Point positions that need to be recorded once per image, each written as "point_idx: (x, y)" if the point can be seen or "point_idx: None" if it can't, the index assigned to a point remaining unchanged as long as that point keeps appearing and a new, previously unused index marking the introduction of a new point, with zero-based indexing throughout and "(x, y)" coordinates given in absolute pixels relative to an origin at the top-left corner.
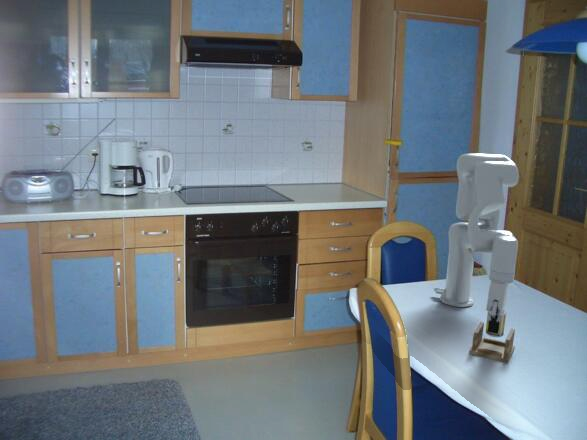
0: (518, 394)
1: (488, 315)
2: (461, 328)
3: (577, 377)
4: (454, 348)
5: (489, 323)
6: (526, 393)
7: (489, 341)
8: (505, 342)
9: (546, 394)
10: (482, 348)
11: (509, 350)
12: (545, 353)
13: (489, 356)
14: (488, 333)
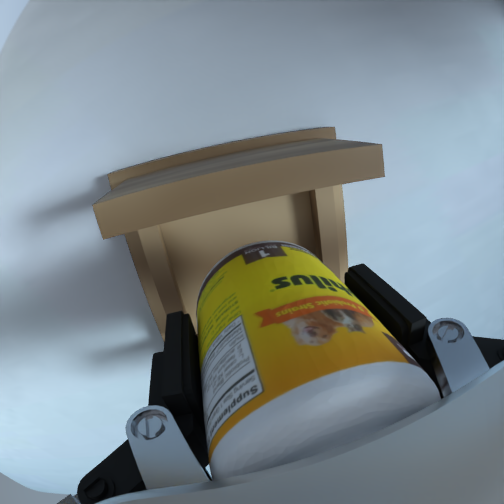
0: (17, 421)
1: (235, 388)
2: (403, 23)
3: None
4: (115, 78)
5: (166, 373)
6: (40, 433)
7: (313, 210)
8: None
9: (84, 461)
10: (153, 239)
11: None
12: None
13: (142, 281)
14: (199, 292)
